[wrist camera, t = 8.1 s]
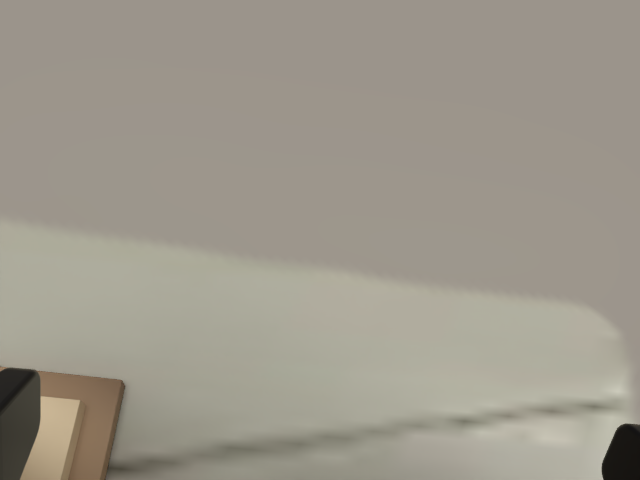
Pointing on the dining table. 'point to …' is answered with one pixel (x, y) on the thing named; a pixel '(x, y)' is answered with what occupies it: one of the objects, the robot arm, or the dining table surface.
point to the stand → (74, 427)
